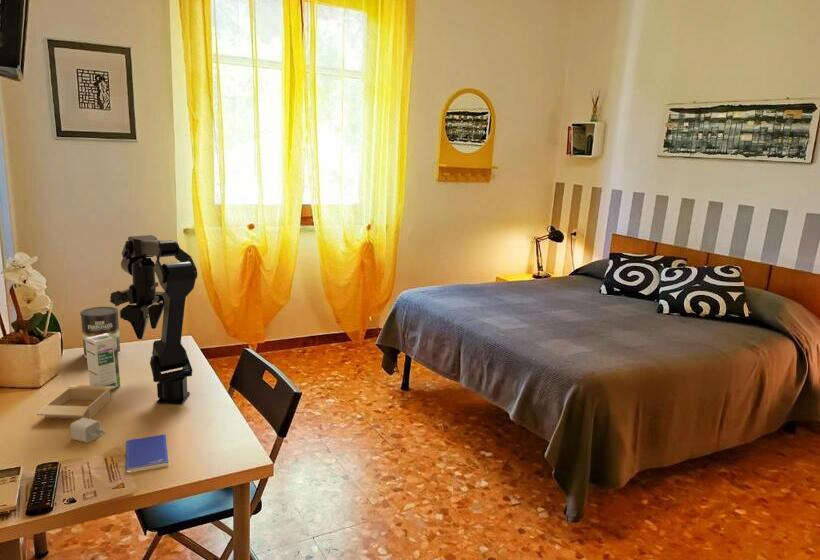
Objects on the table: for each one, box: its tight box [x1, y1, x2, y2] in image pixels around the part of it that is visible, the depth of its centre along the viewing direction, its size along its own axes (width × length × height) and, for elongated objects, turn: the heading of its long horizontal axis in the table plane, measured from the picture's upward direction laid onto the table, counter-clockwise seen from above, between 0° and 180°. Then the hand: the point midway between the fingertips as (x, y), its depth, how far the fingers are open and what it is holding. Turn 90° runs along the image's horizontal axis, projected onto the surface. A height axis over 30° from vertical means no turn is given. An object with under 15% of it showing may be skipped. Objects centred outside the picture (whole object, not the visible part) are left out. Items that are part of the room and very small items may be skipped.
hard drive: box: [125, 434, 170, 473], centre depth 124 cm, size 2×8×12 cm
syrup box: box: [85, 333, 121, 389], centre depth 153 cm, size 6×6×14 cm
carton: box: [36, 384, 116, 419], centre depth 142 cm, size 11×16×3 cm, turn 2°
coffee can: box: [80, 306, 122, 359], centre depth 176 cm, size 10×10×14 cm
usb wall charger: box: [69, 418, 107, 444], centre depth 128 cm, size 4×7×4 cm, turn 71°
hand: (147, 333), depth 160 cm, fingers open, 9 cm apart
